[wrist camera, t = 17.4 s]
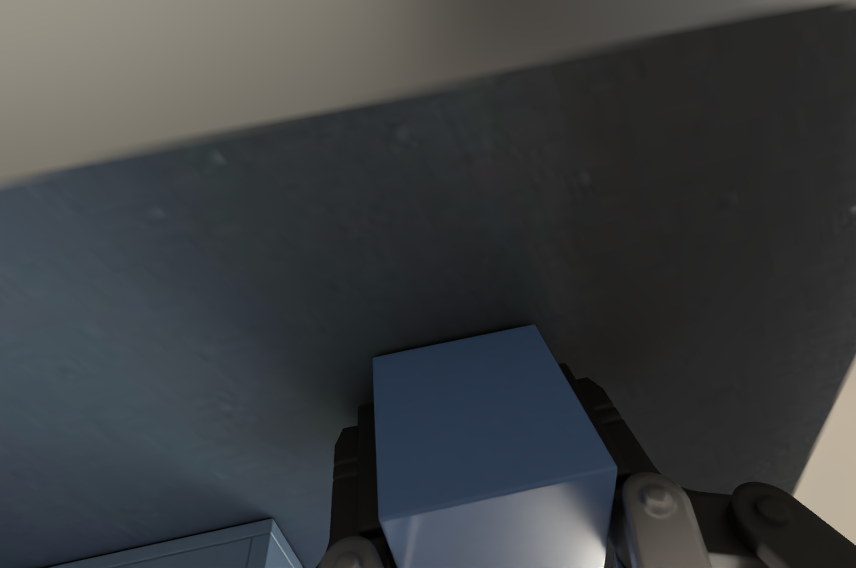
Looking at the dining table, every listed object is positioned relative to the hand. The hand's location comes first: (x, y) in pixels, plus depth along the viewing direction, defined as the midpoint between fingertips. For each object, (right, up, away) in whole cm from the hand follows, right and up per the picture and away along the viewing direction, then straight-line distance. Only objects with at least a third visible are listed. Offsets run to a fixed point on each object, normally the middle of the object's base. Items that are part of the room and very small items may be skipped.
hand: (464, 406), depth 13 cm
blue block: (0, 0, 0) cm, 0 cm away
